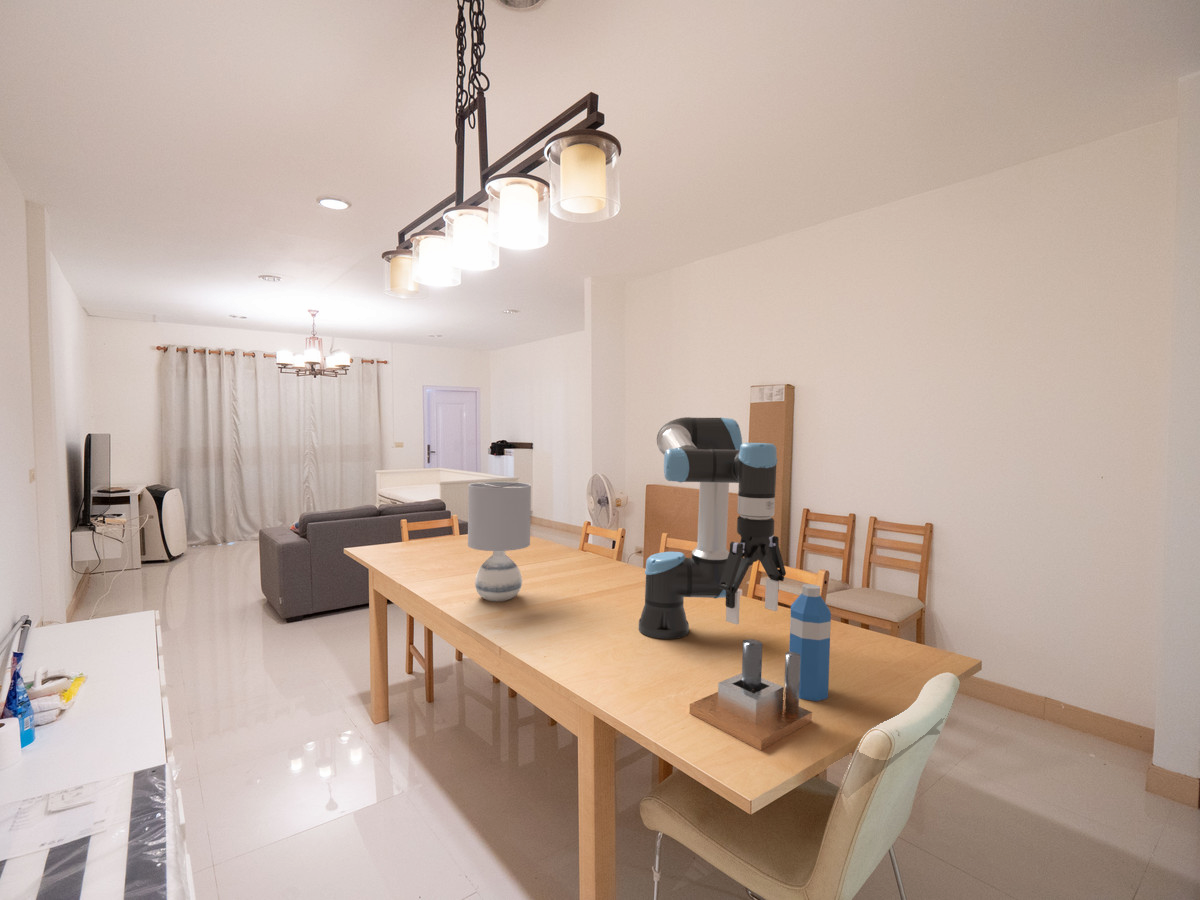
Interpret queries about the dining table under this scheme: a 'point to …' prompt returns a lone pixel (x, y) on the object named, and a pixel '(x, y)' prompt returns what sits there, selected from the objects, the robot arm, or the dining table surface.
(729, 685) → the peg insertion fixture
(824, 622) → the water bottle
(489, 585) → the lamp
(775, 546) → the robot arm
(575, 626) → the dining table surface
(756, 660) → the square metal peg
